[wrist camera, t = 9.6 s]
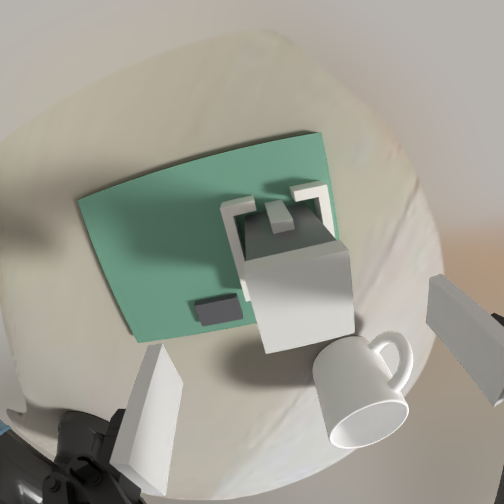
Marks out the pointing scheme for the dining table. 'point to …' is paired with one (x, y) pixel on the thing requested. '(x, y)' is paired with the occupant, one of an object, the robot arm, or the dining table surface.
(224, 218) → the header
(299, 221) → the plug
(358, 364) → the mug
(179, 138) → the dining table surface
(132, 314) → the board
